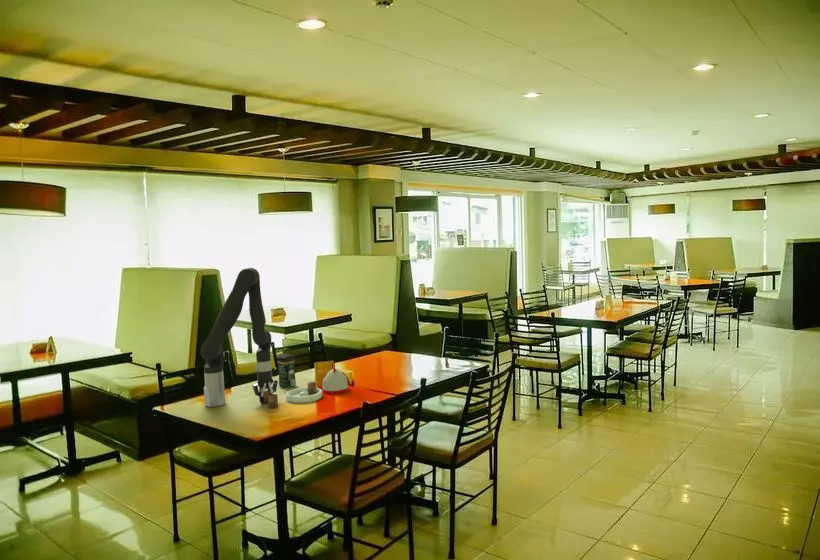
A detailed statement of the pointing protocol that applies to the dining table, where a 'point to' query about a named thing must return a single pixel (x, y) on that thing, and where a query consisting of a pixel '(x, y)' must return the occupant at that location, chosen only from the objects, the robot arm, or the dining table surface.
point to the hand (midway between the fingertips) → (266, 401)
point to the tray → (303, 399)
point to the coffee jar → (286, 371)
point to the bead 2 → (311, 388)
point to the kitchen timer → (335, 382)
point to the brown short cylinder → (273, 401)
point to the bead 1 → (266, 396)
